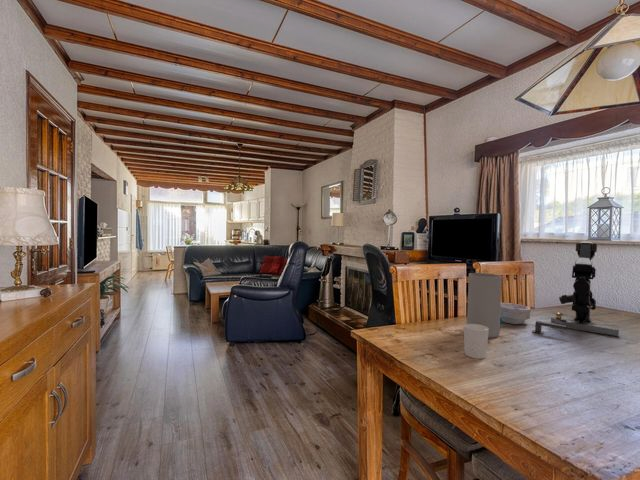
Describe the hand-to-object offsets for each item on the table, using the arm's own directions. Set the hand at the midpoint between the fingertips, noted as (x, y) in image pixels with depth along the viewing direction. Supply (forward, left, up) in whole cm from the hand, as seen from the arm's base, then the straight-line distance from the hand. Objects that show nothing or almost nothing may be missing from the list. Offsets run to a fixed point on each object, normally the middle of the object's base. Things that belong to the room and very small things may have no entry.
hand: (580, 324), depth 156 cm
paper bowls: (+11, -26, -2) cm, 28 cm away
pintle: (+4, -8, -2) cm, 9 cm away
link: (+4, +1, -1) cm, 5 cm away
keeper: (+23, -10, -2) cm, 26 cm away
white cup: (+71, -26, -2) cm, 76 cm away
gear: (+28, -32, -2) cm, 42 cm away
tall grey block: (+42, -31, -2) cm, 53 cm away
